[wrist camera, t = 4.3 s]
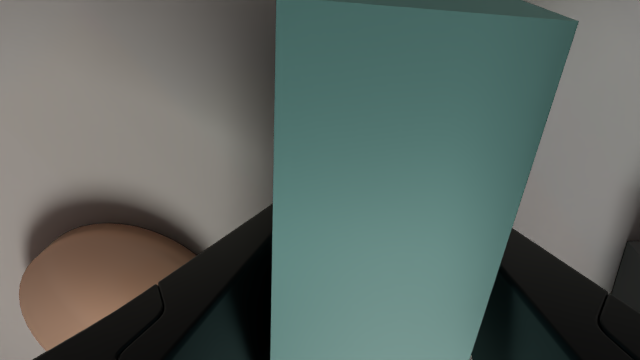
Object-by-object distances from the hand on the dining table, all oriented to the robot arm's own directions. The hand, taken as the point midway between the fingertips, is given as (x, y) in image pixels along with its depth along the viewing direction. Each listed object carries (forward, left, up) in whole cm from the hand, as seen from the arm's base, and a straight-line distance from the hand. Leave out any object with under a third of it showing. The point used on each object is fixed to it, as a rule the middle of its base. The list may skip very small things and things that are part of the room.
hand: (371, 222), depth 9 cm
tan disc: (+7, +4, -2) cm, 8 cm away
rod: (0, +1, -1) cm, 2 cm away
